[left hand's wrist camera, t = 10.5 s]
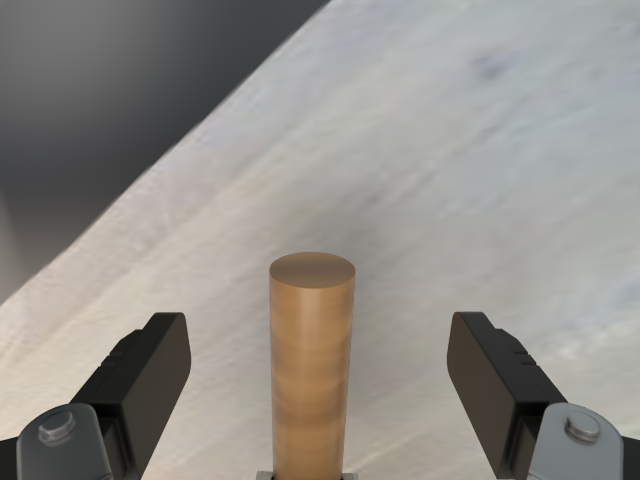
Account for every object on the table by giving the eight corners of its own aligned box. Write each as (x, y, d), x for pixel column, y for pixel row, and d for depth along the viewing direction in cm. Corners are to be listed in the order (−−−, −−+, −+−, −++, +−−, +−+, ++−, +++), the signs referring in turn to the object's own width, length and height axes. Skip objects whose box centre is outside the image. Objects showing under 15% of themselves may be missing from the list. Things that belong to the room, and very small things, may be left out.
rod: (274, 250, 30) (263, 286, 24) (352, 253, 30) (359, 289, 24) (277, 475, 38) (270, 541, 32) (338, 477, 38) (341, 543, 32)
